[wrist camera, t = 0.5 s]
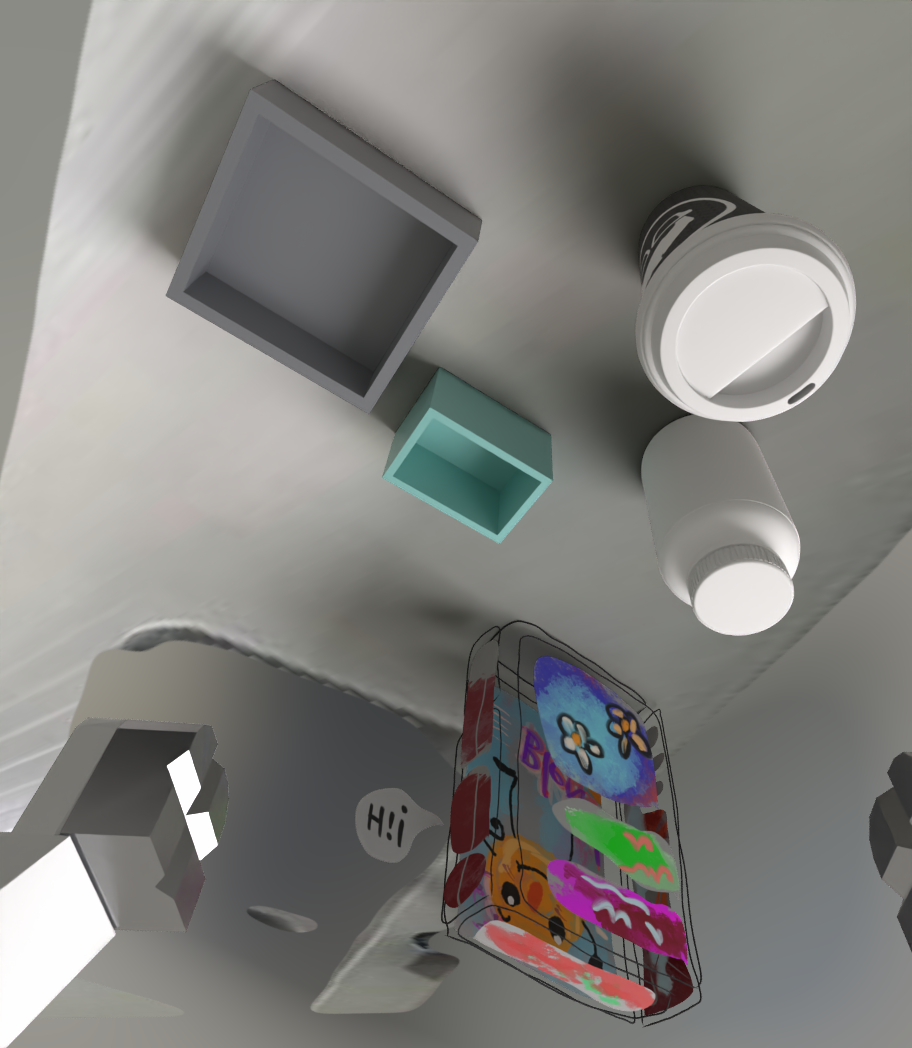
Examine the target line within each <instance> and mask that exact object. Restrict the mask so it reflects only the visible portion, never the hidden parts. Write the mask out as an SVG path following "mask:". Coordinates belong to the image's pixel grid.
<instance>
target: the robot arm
mask: <svg viewBox="0 0 912 1048" xmlns="http://www.w3.org/2000/svg"><path fill="white" fill-rule="evenodd" d="M217 745H218V743H217V740H216V737H215V734H214V731H213V728H212V726H210V725H204V724H189V723H174V722H161V721H145V720H131V719H127V720H126V719H109V718H108V719H107V718H90V717H89V718H87V719H86V720H84V721H83V722H82V723H81V724H79V725H78V726H77V727H76V728H75V730H74V731H73V733H72V734H71V736H70V738H69V739H68V741H67V743H66V744H65V746H64V747H63V749H62V751H61V752H60V754H59V756H58V757H57V759H56V760H55V762H54V764H53V765H52V767H51V769H50V770H49V772H48V773H47V775H46V777H45V778H44V780H43V782H42V783H41V785H40V786H39V788H38V790H37V791H36V793H35V795H34V796H33V798H32V799H31V801H30V803H29V804H28V806H27V808H26V809H25V811H24V812H23V814H22V816H21V817H20V819H19V821H18V822H17V824H16V825H15V827H14V829H13V830H12V832H0V1048H6V1047H7V1046H8V1045H9V1044H10V1043H11V1042H12V1041H13V1040H14V1039H15V1038H16V1037H17V1036H18V1035H19V1034H20V1033H21V1032H22V1031H23V1030H24V1029H25V1028H26V1027H27V1025H28V1024H29V1023H30V1022H31V1021H32V1020H33V1019H34V1018H35V1017H36V1016H37V1015H38V1014H39V1013H40V1012H41V1011H42V1010H43V1009H44V1008H45V1007H46V1006H47V1005H48V1004H49V1003H50V1002H51V1001H52V1000H53V999H54V998H55V997H56V996H57V995H58V994H59V993H60V991H61V990H62V989H63V988H64V987H65V986H66V985H67V984H68V983H69V982H70V981H71V980H72V979H73V978H74V977H75V976H76V975H77V974H78V973H79V972H80V971H81V970H82V969H83V968H84V967H85V966H86V965H87V963H89V962H90V961H91V959H92V958H93V957H94V956H95V955H96V954H97V953H98V952H99V951H100V950H101V949H102V948H103V947H104V946H105V945H106V944H107V943H108V942H109V941H110V940H111V939H112V938H113V937H114V936H115V931H114V930H134V931H167V932H168V931H169V932H186V931H187V929H188V926H189V923H190V920H191V918H192V915H193V912H194V909H195V907H196V904H197V901H198V898H199V896H200V893H201V890H202V887H203V885H204V882H205V876H204V873H203V869H202V866H201V863H200V860H201V859H202V858H203V857H204V856H206V855H207V854H208V853H209V852H210V851H211V850H213V849H214V848H215V847H216V846H217V845H218V842H219V840H220V837H221V834H222V831H223V828H224V825H225V820H226V814H227V807H228V801H229V796H228V795H229V794H228V780H227V776H226V772H225V768H223V767H222V766H221V765H220V764H219V763H217V762H216V761H215V760H214V759H212V758H213V755H214V753H215V750H216V748H217ZM887 774H888V776H889V778H890V780H891V782H892V785H893V788H891V789H889V790H888V791H886V792H885V793H883V794H882V795H880V796H878V797H877V798H876V800H875V803H874V805H873V808H872V811H871V814H870V816H869V841H870V845H871V850H872V854H873V858H874V861H875V864H876V866H877V869H878V871H879V874H880V877H881V879H882V880H883V881H884V882H885V883H886V884H887V885H888V886H890V887H891V888H892V889H893V890H894V891H895V892H896V893H898V894H899V895H900V896H901V897H902V898H903V901H902V904H901V907H900V909H899V912H898V915H897V918H898V921H899V923H900V925H901V928H902V930H903V933H904V935H905V937H906V940H907V942H908V945H909V947H910V949H911V952H912V752H902V753H901V754H899V755H898V756H897V757H895V758H894V759H893V761H892V764H891V766H890V768H889V770H888V772H887Z"/></svg>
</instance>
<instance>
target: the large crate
mask: <svg viewBox="0 0 912 1048" xmlns="http://www.w3.org/2000/svg"><path fill="white" fill-rule="evenodd" d="M481 225H482V220H481V219H479V218H478V217H476V216H475V215H473V214H472V213H470V212H469V211H468V210H466V209H465V208H463V207H462V206H460V205H459V204H457V203H456V202H454V201H453V200H451V199H450V198H448V197H447V196H445V195H444V194H442V193H441V192H440V191H438V190H437V189H435V188H434V187H432V186H431V185H429V184H428V183H426V182H425V181H423V180H422V179H420V178H419V177H417V176H416V175H415V174H413V173H412V172H410V171H409V170H407V169H406V168H404V167H403V166H401V165H400V164H398V163H397V162H395V161H394V160H392V159H391V158H389V157H388V156H387V155H385V154H384V153H382V152H381V151H379V150H378V149H376V148H375V147H373V146H372V145H370V144H369V143H367V142H366V141H364V140H363V139H361V138H360V137H359V136H357V135H356V134H354V133H353V132H351V131H350V130H348V129H347V128H345V127H344V126H342V125H341V124H339V123H338V122H336V121H335V120H333V119H332V118H331V117H329V116H328V115H326V114H325V113H323V112H322V111H320V110H319V109H317V108H316V107H314V106H313V105H311V104H310V103H308V102H307V101H305V100H304V99H303V98H301V97H300V96H298V95H297V94H295V93H294V92H292V91H291V90H289V89H288V88H286V87H285V86H283V85H282V84H280V83H279V82H278V81H276V80H275V79H274V80H272V81H269V82H267V83H264V84H262V85H259V86H257V87H254V88H252V89H250V92H249V94H248V96H247V99H246V101H245V104H244V106H243V109H242V111H241V113H240V116H239V118H238V121H237V123H236V126H235V128H234V130H233V133H232V135H231V138H230V140H229V143H228V145H227V148H226V150H225V152H224V155H223V157H222V160H221V162H220V165H219V167H218V169H217V172H216V174H215V177H214V179H213V182H212V184H211V187H210V189H209V191H208V194H207V196H206V199H205V201H204V204H203V206H202V208H201V211H200V213H199V216H198V218H197V221H196V223H195V226H194V228H193V230H192V233H191V235H190V238H189V240H188V243H187V245H186V247H185V250H184V252H183V255H182V257H181V260H180V262H179V265H178V267H177V269H176V272H175V274H174V277H173V279H172V282H171V284H170V286H169V289H168V291H167V294H166V296H167V297H168V298H170V299H172V300H174V301H175V302H177V303H179V304H180V305H182V306H184V307H186V308H187V309H189V310H191V311H192V312H194V313H196V314H198V315H199V316H201V317H203V318H204V319H206V320H208V321H210V322H211V323H213V324H215V325H217V326H218V327H220V328H222V329H223V330H225V331H227V332H229V333H230V334H232V335H234V336H235V337H237V338H239V339H241V340H242V341H244V342H246V343H247V344H249V345H251V346H253V347H254V348H256V349H258V350H260V351H261V352H263V353H265V354H266V355H268V356H270V357H272V358H273V359H275V360H277V361H278V362H280V363H282V364H284V365H285V366H287V367H289V368H290V369H292V370H294V371H296V372H297V373H299V374H301V375H302V376H304V377H306V378H308V379H309V380H311V381H313V382H315V383H316V384H318V385H320V386H321V387H323V388H325V389H327V390H328V391H330V392H332V393H333V394H335V395H337V396H339V397H340V398H342V399H344V400H345V401H347V402H349V403H351V404H352V405H354V406H356V407H358V408H359V409H361V410H363V411H364V412H366V413H368V414H369V413H370V412H371V410H372V409H373V407H374V405H375V404H376V402H377V401H378V399H379V397H380V396H381V394H382V393H383V391H384V390H385V388H386V386H387V385H388V383H389V382H390V380H391V378H392V377H393V375H394V374H395V372H396V371H397V369H398V367H399V366H400V364H401V363H402V361H403V359H404V358H405V356H406V355H407V353H408V352H409V350H410V348H411V347H412V345H413V344H414V342H415V340H416V339H417V337H418V336H419V334H420V333H421V331H422V329H423V328H424V326H425V325H426V323H427V322H428V320H429V318H430V317H431V315H432V314H433V312H434V310H435V309H436V307H437V306H438V304H439V303H440V301H441V299H442V298H443V296H444V295H445V293H446V291H447V290H448V288H449V287H450V285H451V284H452V282H453V280H454V279H455V277H456V276H457V274H458V272H459V271H460V269H461V268H462V266H463V265H464V263H465V261H466V260H467V258H468V257H469V255H470V253H471V252H472V250H473V249H474V247H475V246H476V244H477V242H478V239H479V234H480V229H481Z"/></svg>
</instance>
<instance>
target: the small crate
mask: <svg viewBox="0 0 912 1048" xmlns="http://www.w3.org/2000/svg"><path fill="white" fill-rule="evenodd" d="M382 478H383V479H385V480H387V481H388V482H390V483H392V484H394V485H396V486H397V487H399V488H401V489H403V490H404V491H406V492H408V493H410V494H412V495H413V496H415V497H417V498H419V499H420V500H422V501H424V502H426V503H428V504H429V505H431V506H433V507H435V508H437V509H438V510H440V511H442V512H444V513H445V514H447V515H449V516H451V517H453V518H454V519H456V520H458V521H460V522H461V523H463V524H465V525H467V526H469V527H470V528H472V529H474V530H476V531H477V532H479V533H481V534H483V535H485V536H486V537H488V538H490V539H492V540H494V541H495V542H497V543H499V544H500V543H501V542H502V540H503V539H504V538H505V537H506V536H507V534H508V533H509V532H510V531H511V530H512V528H513V527H514V526H515V525H516V524H517V523H518V521H519V520H520V519H521V518H522V517H523V515H524V514H525V513H526V512H527V511H528V509H529V508H530V507H531V506H532V505H533V504H534V502H535V501H536V500H537V499H538V498H539V496H540V495H541V494H542V493H543V492H544V491H545V489H546V488H547V487H548V486H549V485H550V483H551V482H552V481H553V472H552V448H551V435H550V434H549V433H547V432H545V431H544V430H542V429H540V428H539V427H537V426H536V425H534V424H532V423H531V422H529V421H527V420H526V419H524V418H522V417H521V416H519V415H518V414H516V413H514V412H513V411H511V410H509V409H508V408H506V407H505V406H503V405H501V404H500V403H498V402H496V401H495V400H493V399H492V398H490V397H488V396H487V395H485V394H483V393H482V392H480V391H479V390H477V389H475V388H474V387H472V386H470V385H469V384H467V383H466V382H464V381H462V380H461V379H459V378H457V377H456V376H454V375H452V374H451V373H449V372H448V371H446V370H444V369H443V368H441V367H439V368H438V370H437V371H436V373H435V374H434V376H433V377H432V379H431V380H430V382H429V383H428V385H427V386H426V388H425V389H424V391H423V392H422V394H421V395H420V397H419V398H418V400H417V401H416V403H415V404H414V406H413V407H412V409H411V410H410V412H409V413H408V415H407V416H406V418H405V419H404V421H403V422H402V424H401V425H400V427H399V428H398V430H397V431H396V433H395V436H394V439H393V443H392V446H391V449H390V453H389V456H388V459H387V463H386V466H385V470H384V473H383V476H382Z"/></svg>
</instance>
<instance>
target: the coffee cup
mask: <svg viewBox="0 0 912 1048" xmlns="http://www.w3.org/2000/svg"><path fill="white" fill-rule="evenodd" d="M639 265H640V276H641V287H642V299H641V302H640V305H639V309H638V313H637V319H636V328H635V338H636V347H637V352H638V356H639V360H640V363H641V365H642V367H643V370H644V372H645V374H646V375H647V377H648V379H649V380H650V382H651V383H652V384H653V386H654V387H655V388H656V389H657V390H658V391H659V392H660V393H661V394H662V395H663V396H664V397H665V398H667V399H668V400H669V401H670V402H672V403H673V404H675V405H676V406H678V407H679V408H681V409H683V410H685V411H687V412H689V413H692V414H695V415H698V416H701V417H704V418H708V419H713V420H721V421H732V422H744V421H754V420H760V419H764V418H768V417H771V416H774V415H777V414H780V413H782V412H784V411H786V410H788V409H790V408H792V407H794V406H796V405H797V404H799V403H801V402H802V401H804V400H805V399H806V398H808V397H809V396H810V395H811V394H813V393H814V392H815V391H816V390H817V389H818V388H819V387H820V386H821V385H822V384H823V383H824V382H825V381H826V380H827V378H828V377H829V376H830V375H831V373H832V372H833V370H834V369H835V367H836V366H837V364H838V362H839V360H840V358H841V356H842V354H843V352H844V350H845V348H846V346H847V343H848V341H849V338H850V335H851V332H852V328H853V324H854V319H855V311H856V294H855V286H854V281H853V276H852V273H851V270H850V267H849V264H848V262H847V260H846V258H845V256H844V255H843V253H842V251H841V250H840V249H839V247H838V246H837V245H836V243H835V242H834V241H833V240H832V239H831V238H830V237H829V236H828V235H826V234H825V233H824V232H823V231H821V230H820V229H818V228H817V227H815V226H814V225H812V224H810V223H808V222H806V221H803V220H801V219H798V218H795V217H791V216H787V215H782V214H774V213H765V212H763V211H761V210H759V209H758V208H756V207H754V206H752V205H751V204H749V203H747V202H745V201H744V200H742V199H740V198H738V197H737V196H735V195H733V194H731V193H730V192H728V191H726V190H723V189H721V188H717V187H713V186H694V187H689V188H686V189H683V190H680V191H678V192H676V193H674V194H672V195H671V196H669V197H668V198H666V199H665V200H664V201H662V202H661V203H660V204H659V205H658V206H657V207H656V208H655V209H654V210H653V212H652V213H651V214H650V216H649V217H648V219H647V221H646V223H645V225H644V227H643V229H642V232H641V236H640V240H639Z"/></svg>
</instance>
